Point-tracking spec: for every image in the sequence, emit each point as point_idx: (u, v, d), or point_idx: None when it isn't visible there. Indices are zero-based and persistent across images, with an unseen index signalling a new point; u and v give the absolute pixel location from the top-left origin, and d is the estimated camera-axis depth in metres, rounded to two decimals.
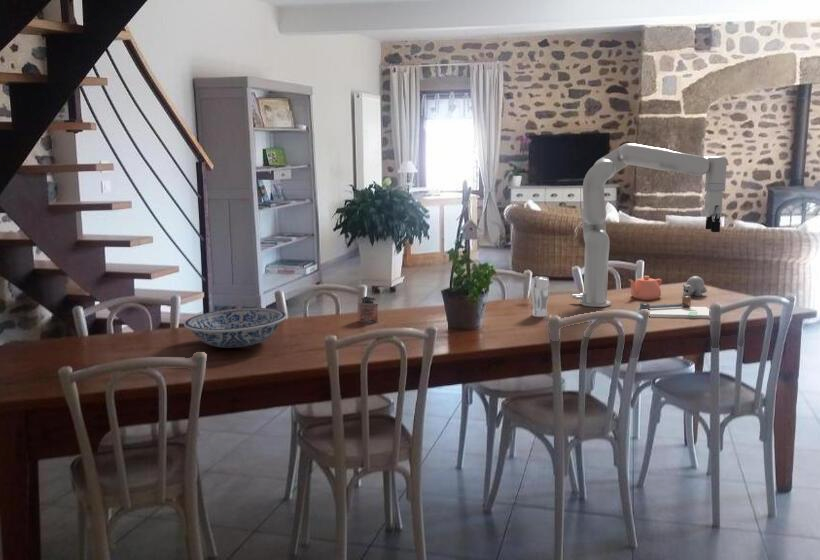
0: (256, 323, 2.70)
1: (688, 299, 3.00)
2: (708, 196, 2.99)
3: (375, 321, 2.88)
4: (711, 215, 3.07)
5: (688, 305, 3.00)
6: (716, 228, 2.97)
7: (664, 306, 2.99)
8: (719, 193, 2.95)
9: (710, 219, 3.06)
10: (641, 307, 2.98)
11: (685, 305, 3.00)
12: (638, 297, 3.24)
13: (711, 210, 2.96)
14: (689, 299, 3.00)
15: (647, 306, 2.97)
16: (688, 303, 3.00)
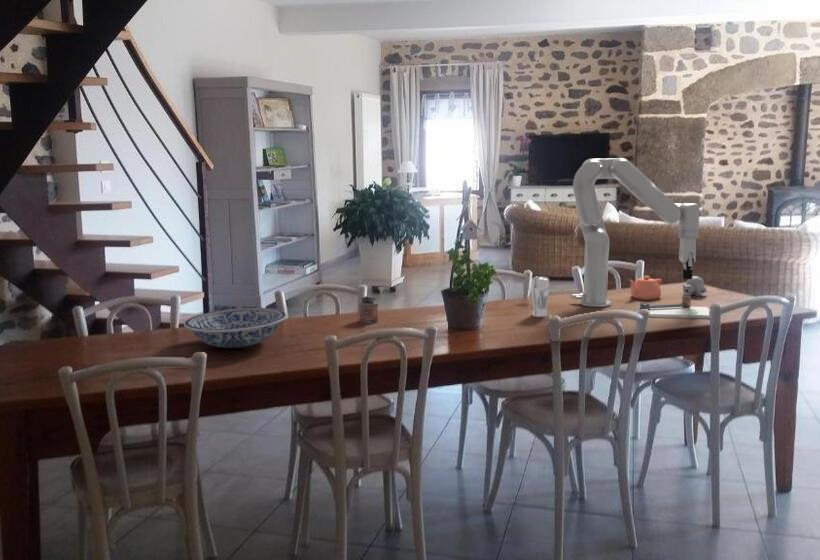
0: (256, 323, 2.70)
1: (688, 299, 3.00)
2: (682, 243, 3.03)
3: (375, 321, 2.88)
4: None
5: (688, 305, 3.00)
6: (688, 275, 3.05)
7: (664, 306, 2.99)
8: (692, 240, 2.99)
9: None
10: (641, 307, 2.98)
11: (685, 305, 3.00)
12: (638, 297, 3.24)
13: (685, 257, 3.00)
14: (689, 299, 3.00)
15: (647, 306, 2.97)
16: (688, 303, 3.00)
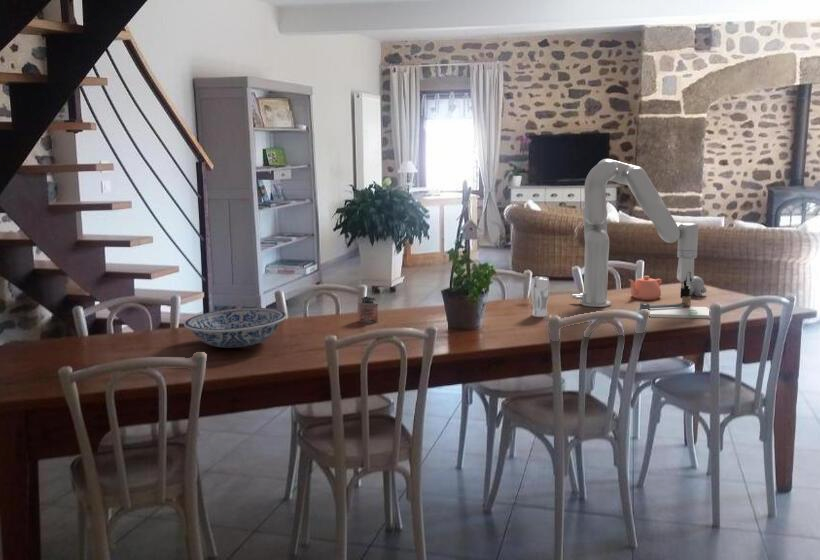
0: (256, 323, 2.70)
1: (688, 299, 3.00)
2: (680, 262, 3.04)
3: (375, 321, 2.88)
4: None
5: (688, 305, 3.00)
6: (686, 295, 3.06)
7: (664, 306, 2.99)
8: (691, 260, 3.01)
9: None
10: (641, 307, 2.98)
11: (685, 305, 3.00)
12: (638, 297, 3.24)
13: (683, 276, 3.02)
14: (689, 299, 3.00)
15: (647, 306, 2.97)
16: (688, 303, 3.00)
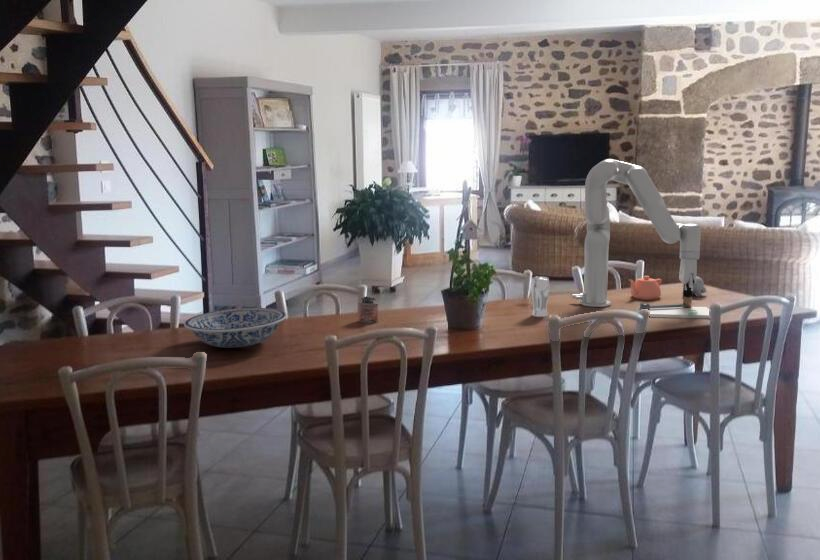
0: (256, 323, 2.70)
1: (689, 299, 2.99)
2: (683, 263, 3.00)
3: (375, 321, 2.88)
4: None
5: (689, 305, 3.00)
6: None
7: (664, 306, 2.99)
8: (693, 261, 2.97)
9: None
10: (641, 307, 2.98)
11: (686, 305, 3.00)
12: (638, 297, 3.24)
13: (686, 278, 2.98)
14: (690, 299, 2.99)
15: (647, 306, 2.97)
16: (689, 303, 2.99)
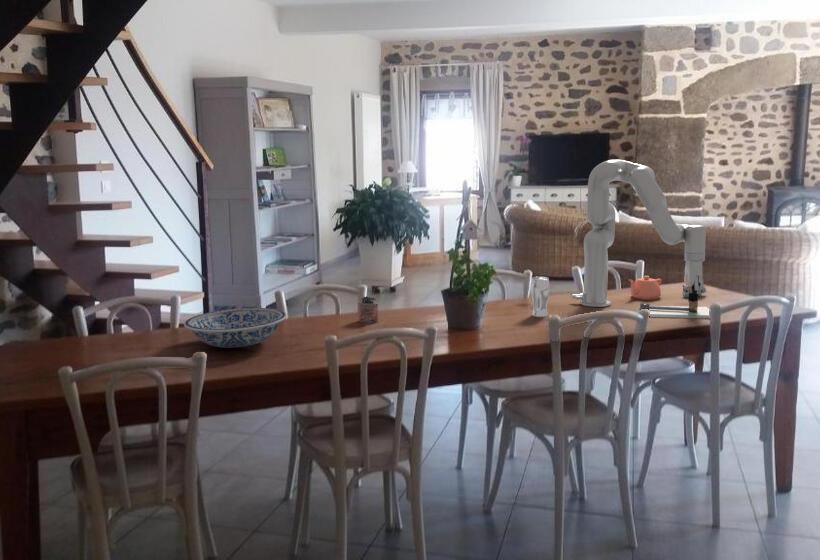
0: (256, 323, 2.70)
1: (693, 304, 2.91)
2: (688, 266, 2.92)
3: (375, 321, 2.88)
4: None
5: (693, 310, 2.92)
6: (694, 300, 2.94)
7: (666, 308, 2.95)
8: (699, 263, 2.89)
9: None
10: (640, 307, 2.98)
11: (690, 310, 2.92)
12: (638, 297, 3.24)
13: (691, 280, 2.90)
14: (694, 304, 2.91)
15: (645, 306, 2.97)
16: (693, 308, 2.92)
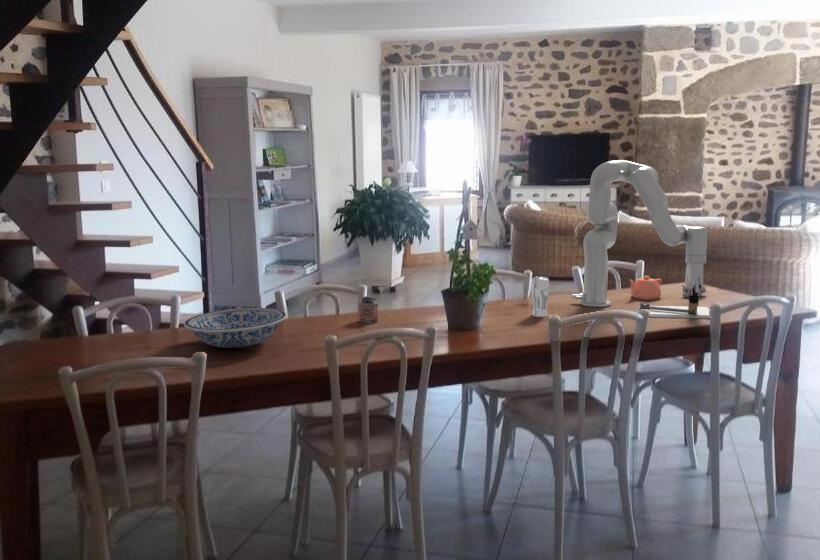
0: (256, 323, 2.70)
1: (692, 305, 2.88)
2: (688, 268, 2.89)
3: (375, 321, 2.88)
4: None
5: (692, 312, 2.89)
6: (694, 302, 2.91)
7: (665, 309, 2.94)
8: (700, 265, 2.85)
9: None
10: (640, 306, 2.99)
11: (689, 311, 2.89)
12: (638, 297, 3.24)
13: (692, 283, 2.86)
14: (693, 306, 2.88)
15: (644, 306, 2.97)
16: (692, 310, 2.88)
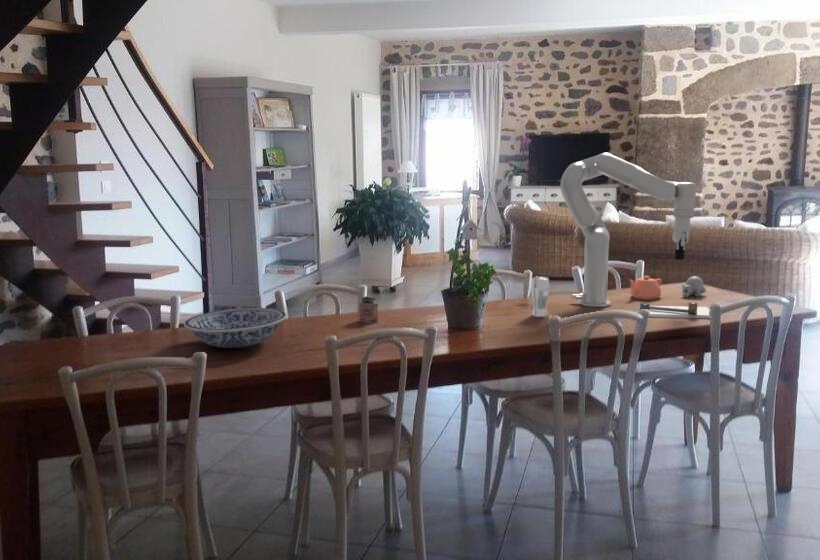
0: (256, 323, 2.70)
1: (692, 305, 2.88)
2: (676, 222, 2.98)
3: (375, 321, 2.88)
4: None
5: (692, 312, 2.89)
6: (680, 256, 3.01)
7: (665, 309, 2.94)
8: (687, 219, 2.95)
9: None
10: (640, 306, 2.99)
11: (689, 311, 2.89)
12: (638, 297, 3.24)
13: (678, 236, 2.96)
14: (693, 306, 2.88)
15: (644, 306, 2.97)
16: (692, 310, 2.88)
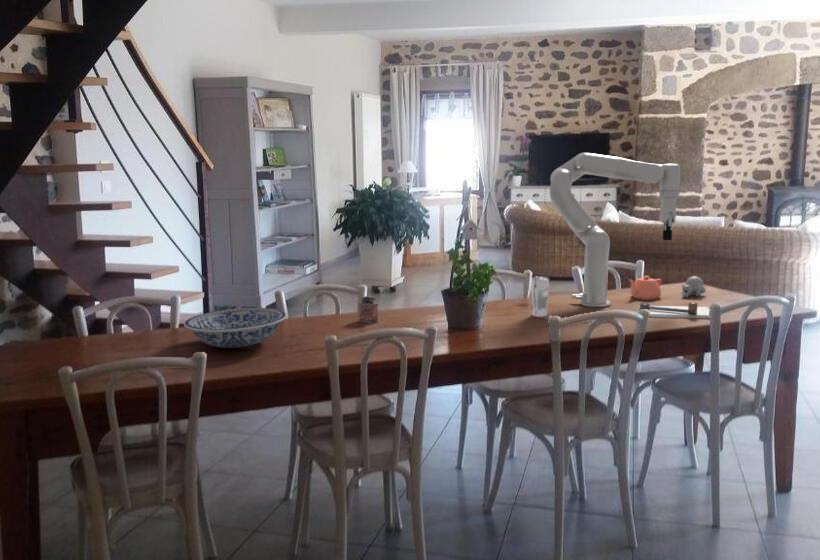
0: (256, 323, 2.70)
1: (692, 305, 2.88)
2: (662, 203, 3.04)
3: (375, 321, 2.88)
4: None
5: (692, 312, 2.89)
6: (668, 236, 3.06)
7: (665, 309, 2.94)
8: (673, 200, 3.01)
9: None
10: (640, 306, 2.99)
11: (689, 311, 2.89)
12: (638, 297, 3.24)
13: (665, 217, 3.02)
14: (693, 306, 2.88)
15: (644, 306, 2.97)
16: (692, 310, 2.88)
